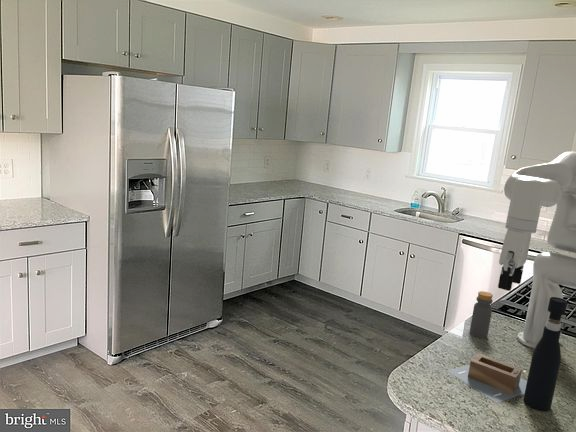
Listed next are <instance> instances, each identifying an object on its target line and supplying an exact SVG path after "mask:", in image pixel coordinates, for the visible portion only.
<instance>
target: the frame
mask: <svg viewBox="0 0 576 432" xmlns="http://www.w3.org/2000/svg"><path fill="white" fill-rule="evenodd" d="M469 365H470V367H469V372H468V377H469V378H471V379H474V380H476V381H479V382H482V383H484V384H487V385H489V386H492V387H494V388H497V389H499V390H502V391H504V392H507V393H510V394H512V395H513V393H514V392H515V390H516V389H517V387H518V386H519V382H520V378H522V377H521V376H522V372H523V368H520V367H518V366H515V365H513V364H509V363H506V362H504V361H501V360H498V359H496V358H493V357H490V356H487V355H484V354H482V353H478V352H477V354H475V356H474V357H473V358H472V359H471V360H470V362H469Z"/></svg>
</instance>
